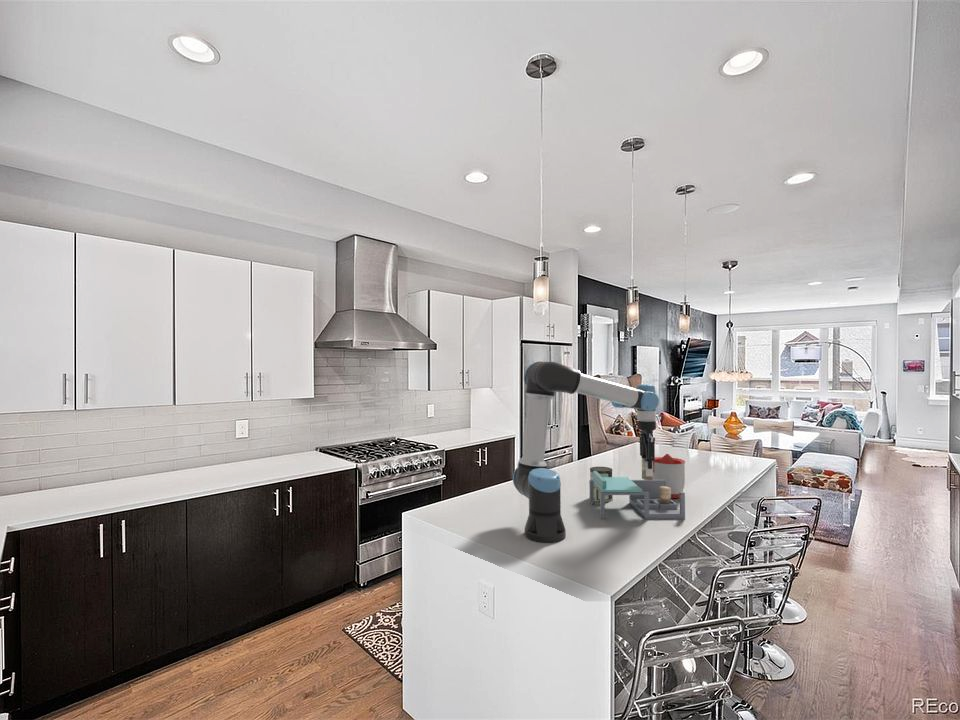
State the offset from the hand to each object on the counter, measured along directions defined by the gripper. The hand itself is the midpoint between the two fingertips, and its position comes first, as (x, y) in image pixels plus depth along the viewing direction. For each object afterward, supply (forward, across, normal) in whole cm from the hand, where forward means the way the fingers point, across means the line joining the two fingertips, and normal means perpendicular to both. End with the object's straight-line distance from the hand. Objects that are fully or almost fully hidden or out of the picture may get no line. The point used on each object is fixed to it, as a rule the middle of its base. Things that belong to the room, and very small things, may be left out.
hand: (647, 474), depth 201 cm
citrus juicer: (+16, +24, -17) cm, 33 cm away
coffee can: (+16, +19, +15) cm, 29 cm away
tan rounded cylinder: (+2, 0, 0) cm, 2 cm away
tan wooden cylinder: (+14, 0, -7) cm, 15 cm away
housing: (+16, +1, +5) cm, 16 cm away
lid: (+5, +1, +13) cm, 14 cm away
